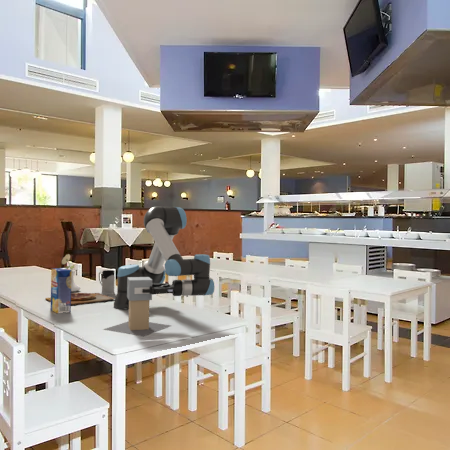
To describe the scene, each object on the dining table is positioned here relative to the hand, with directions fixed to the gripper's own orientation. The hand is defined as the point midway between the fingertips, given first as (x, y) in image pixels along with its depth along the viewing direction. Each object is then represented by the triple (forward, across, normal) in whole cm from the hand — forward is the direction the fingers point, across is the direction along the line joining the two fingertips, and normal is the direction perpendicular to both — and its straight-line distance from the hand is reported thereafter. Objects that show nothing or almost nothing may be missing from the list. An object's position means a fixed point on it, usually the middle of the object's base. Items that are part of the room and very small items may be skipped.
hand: (133, 288), depth 197 cm
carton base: (-3, 0, -18) cm, 18 cm away
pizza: (+23, +74, -19) cm, 80 cm away
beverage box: (+33, +45, -19) cm, 59 cm away
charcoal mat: (-3, 0, -18) cm, 19 cm away
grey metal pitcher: (+8, +96, -19) cm, 98 cm away
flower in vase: (+30, +106, -19) cm, 112 cm away
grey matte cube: (-3, 0, -4) cm, 5 cm away
